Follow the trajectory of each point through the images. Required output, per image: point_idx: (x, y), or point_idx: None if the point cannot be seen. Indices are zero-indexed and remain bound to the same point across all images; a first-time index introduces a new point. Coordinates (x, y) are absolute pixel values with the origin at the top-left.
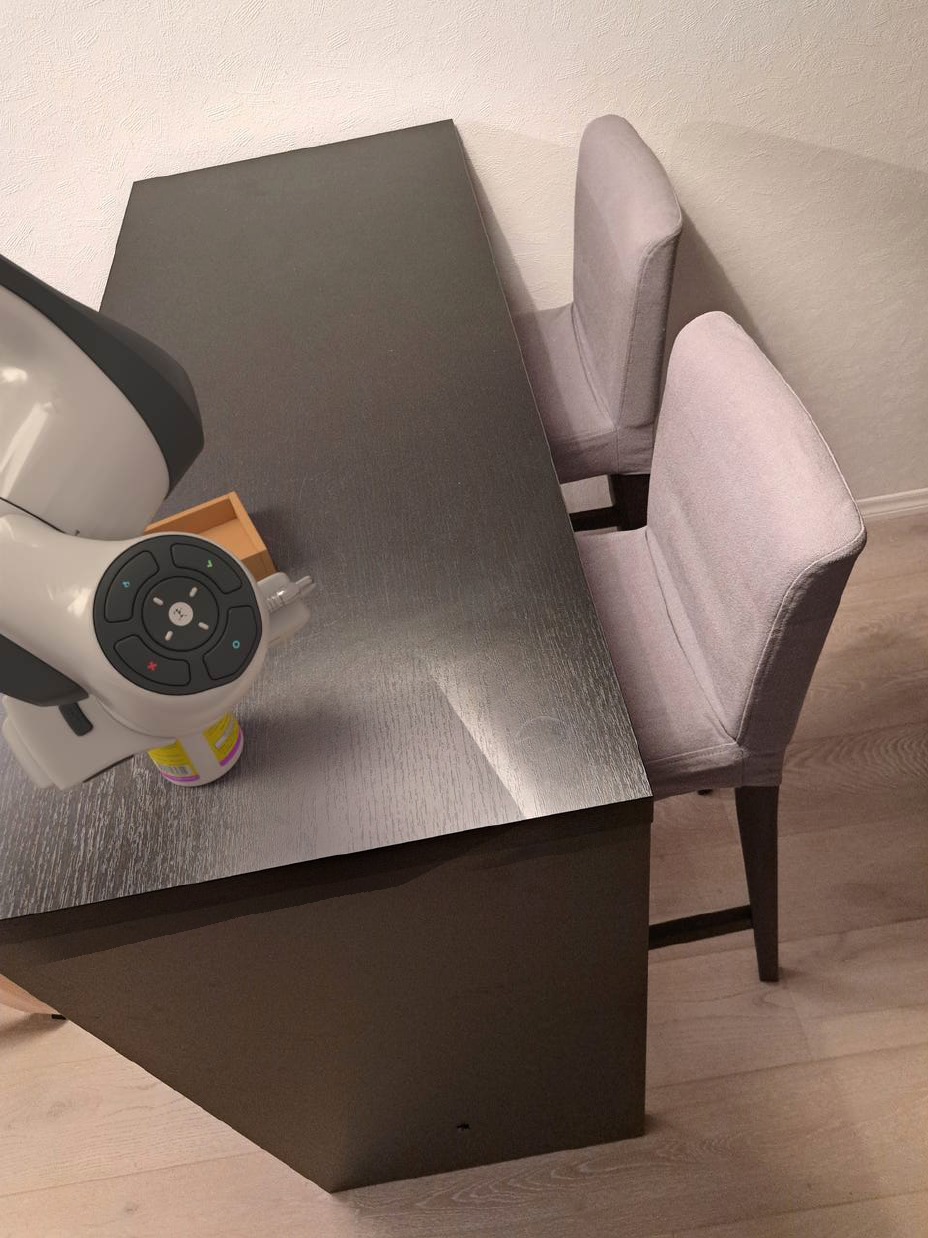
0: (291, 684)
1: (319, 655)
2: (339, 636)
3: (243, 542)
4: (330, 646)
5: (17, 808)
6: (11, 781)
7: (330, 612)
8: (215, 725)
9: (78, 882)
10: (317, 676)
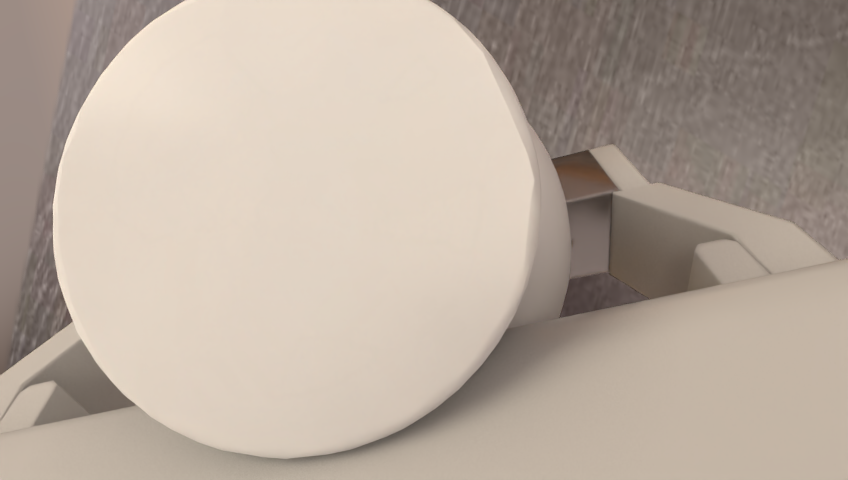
0: (657, 180)
1: (747, 128)
2: (812, 95)
3: None
4: (781, 115)
5: (52, 188)
6: (56, 111)
7: (816, 4)
8: None
9: None
10: (722, 191)
